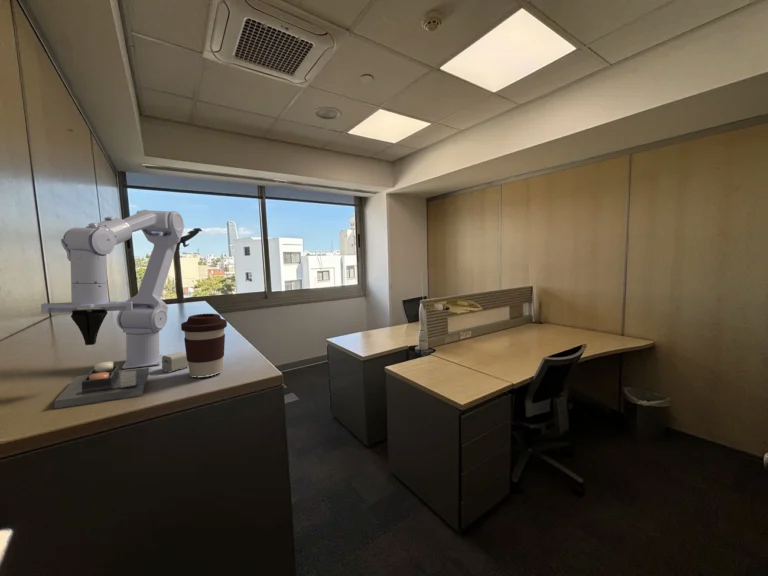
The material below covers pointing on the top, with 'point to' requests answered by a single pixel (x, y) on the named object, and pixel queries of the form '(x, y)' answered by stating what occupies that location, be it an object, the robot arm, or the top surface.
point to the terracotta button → (99, 376)
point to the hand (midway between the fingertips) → (90, 344)
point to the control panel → (101, 388)
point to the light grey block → (128, 378)
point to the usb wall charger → (174, 361)
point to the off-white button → (103, 366)
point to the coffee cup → (204, 343)
